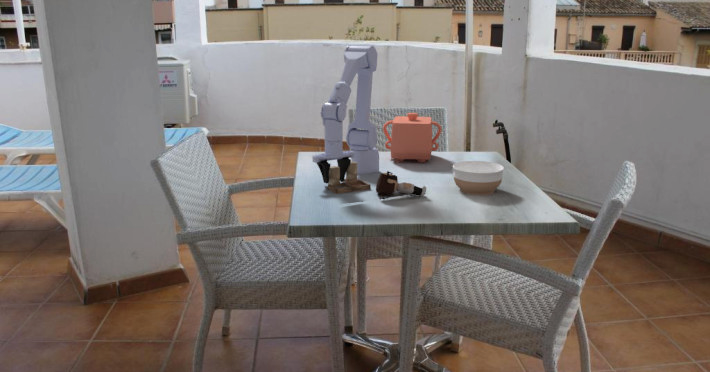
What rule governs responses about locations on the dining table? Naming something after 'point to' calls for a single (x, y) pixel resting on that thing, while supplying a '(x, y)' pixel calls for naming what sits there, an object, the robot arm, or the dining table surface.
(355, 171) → the beige short cylinder
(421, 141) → the lidded jar with handles
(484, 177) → the bowl
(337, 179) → the beige rounded cylinder
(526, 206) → the dining table surface
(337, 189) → the socket board
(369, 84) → the robot arm
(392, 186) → the figurine
